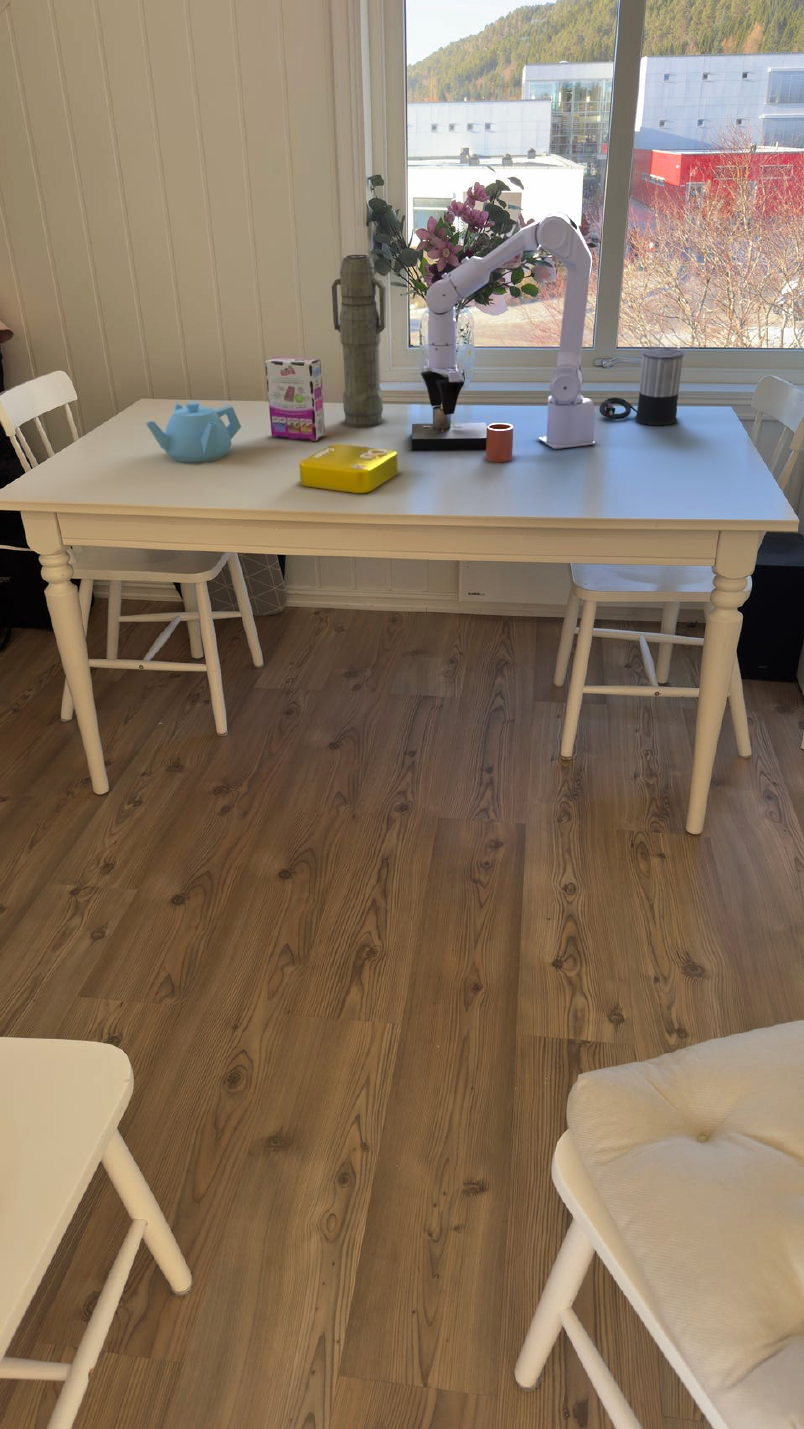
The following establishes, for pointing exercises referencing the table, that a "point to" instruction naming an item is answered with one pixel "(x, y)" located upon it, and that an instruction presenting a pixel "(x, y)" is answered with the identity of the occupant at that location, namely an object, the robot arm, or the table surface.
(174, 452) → the teapot
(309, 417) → the candy bar box
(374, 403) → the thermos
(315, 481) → the element tile
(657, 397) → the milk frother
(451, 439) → the warming plate
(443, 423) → the dial
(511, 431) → the orange stave barrel
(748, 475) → the table surface
